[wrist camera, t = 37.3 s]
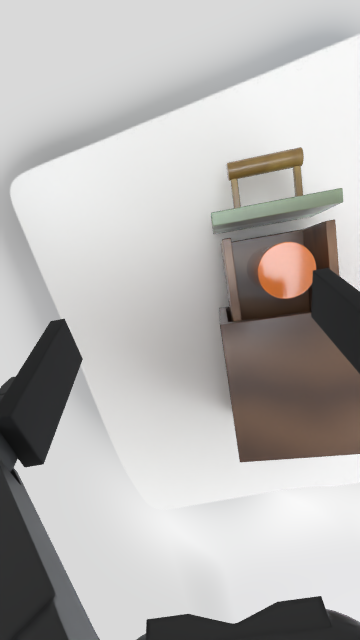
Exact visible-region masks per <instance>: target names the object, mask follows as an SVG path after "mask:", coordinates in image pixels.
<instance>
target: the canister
mask: <svg viewBox="0 0 360 640" xmlns="http://www.w3.org/2000/svg"><path fill="white" fill-rule="evenodd" d="M313 270H316V262H315V259H314V257H313V255H312V253H311V252H310V251H309V250H308V249H307V248H306V247H305V246H303V245H301V244H299V243H296V242H282V243H278V244H274V245H271V246H267V247H264V248H261V249H259V250H257V251H255V252H254V253H253V254H252V255H251V257H250V258H249V260H248V263H247V274H248V277H249V279H250V280H251V282H252V283H253V284H254V285H256V286H257V287H259V288H261V289H262V290H264V291H265V292H267V293H269V294H270V295H272V296H274V297H277V298H281V299H289V298H294V297H297V296H299V295H301V294H302V293H304V292H305V291H306V290H307V289H308V288H309V287H310V286H311V284H312V279H313Z"/></svg>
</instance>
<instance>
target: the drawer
mask: <svg viewBox="0 0 360 640" xmlns="http://www.w3.org/2000/svg"><path fill="white" fill-rule="evenodd" d="M302 164H303V150H302V148H301V147H300V148H295V149H290V150H286V151H281V152H276V153H272V154H267V155H262V156H258V157H253V158H248V159H243V160H239V161H234V162H229V163H227V175H228V180H229V181H230V180H231V187H232V195H233V203H234V209H229V210H224V211H218V212H213V213H211V218H212V226H213V234H218V233H223V232H229V231H234V230H240V229H246V228H251V227H257V226H262V225H268V224H273V223H279V222H284V221H290V220H296V219H301V218H307V217H312V216H314V215H316V214H319V213H321V212H323V211H325V210H327V209H329V208H331V207H334V206H336V205H338V204H340V203H342V202H343V192H342V188H339V189H334V190H329V191H323V192H318V193H313V194H308V195H303V189H302V177H301V166H302ZM289 168H293V176H294V187H295V197H292V198H287V199H281V200H276V201H271V202H266V203H260V204H255V205H250V206H245V207H241V206H240V198H239V190H238V182H237V179H240V178H245V177H249V176H254V175H259V174H264V173H269V172H274V171H279V170H284V169H289ZM282 242H296V243H299V244H301V245H303V246H305V247H306V248H307V249H308V250H309V251H310V252H311V253H312V255H313V257H314V259H315V262H316V270H318V269H324V268H329V269H330V270H332V271H333V272H334V273H336V274H337V275H338V276H339V266H338V253H337V239H336V225H335V220H329V221H325V222H322V223H320V224H317V225H314V226H311V227H308V228H306V229H303V230H297V231H291V232H286V233H280V234H274V235H269V236H263V237H257V238H251V239H246V240H240V241H234V242H231V238H227V239H223V240H222V243H221V248H222V255H223V262H224V270H225V277H226V284H227V292H228V299H229V306H230V313H231V321H232V322H233V321H241V320H248V319H255V318H263V317H270V316H277V315H284V314H292V313H299V312H306V311H311V308H312V284H311V286H310V287H309V288H308V289H307V290H306V291H305V292H304V293H302V294H301V295H299V296H297V297H294V298H289V299H281V298H277V297H274V296H272V295H270V294H269V293H267V292H265V291H264V290H262V289H261V288H259V287H257V286H256V285H254V284H253V283H252V282H251V280H250V279H249V277H248V274H247V263H248V260H249V258H250V257H251V255H252V254H253V253H254V252H255V251H257V250H259V249H261V248H264V247H267V246H271V245H274V244H278V243H282Z"/></svg>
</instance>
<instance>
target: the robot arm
mask: <svg viewBox="0 0 360 640" xmlns="http://www.w3.org/2000/svg"><path fill="white" fill-rule="evenodd" d="M311 317H312V318H313V319H314V321H315V322H316V323H317V324H318V325H319V327H320V328H321V329H322V330H323V331H324V332H325V334H326V335H327V336H328V337H329V338H330V340H331V341H332V342H333V343H334V344H335V345H336V347H337V348H338V349H339V350H340V351H341V353H342V354H343V355H344V356H345V357H346V358H347V360H348V361H349V362H350V363H351V364H352V366H353V367H354V368H355V369H356V370H357V371H358V373H359V374H360V292H359V291H358V290H357V289H355V288H354V287H353V286H351V285H350V284H349V283H347V282H346V281H345V280H344V279H342V278H341V277H340V276H338V275H337V274H336V273H334V272H333V271H332V270H330V269H329V268H324V269H318V270H313V279H312V308H311ZM81 362H82V357H81V354H80V352H79V350H78V348H77V346H76V343H75V341H74V339H73V337H72V334H71V332H70V330H69V328H68V325H67V323H66V321H65V319H60V320H56V321H51V322H50V323H49V325H48V326H47V328H46V330H45V332H44V333H43V335H42V336H41V338H40V339H39V341H38V342H37V344H36V346H35V347H34V349H33V350H32V352H31V353H30V355H29V357H28V358H27V360H26V361H25V363H24V365H23V366H22V368H21V369H20V371H19V373H18V374H17V376H16V377H11V378H10V379H9V380H8V381H7V382H6V383H5V384H3V385H2V386H1V388H0V640H100V639H99V638H98V636H97V634H96V632H95V630H94V628H93V626H92V624H91V622H90V620H89V618H88V616H87V614H86V612H85V610H84V608H83V606H82V604H81V602H80V600H79V598H78V596H77V594H76V591H75V589H74V587H73V585H72V583H71V581H70V579H69V577H68V575H67V573H66V571H65V569H64V567H63V565H62V563H61V561H60V559H59V557H58V555H57V553H56V551H55V548H54V546H53V545H52V542H51V540H50V538H49V537H48V535H47V532H46V530H45V528H44V526H43V524H42V522H41V520H40V518H39V516H38V514H37V512H36V510H35V508H34V505H33V503H32V502H31V499H30V498H29V495H28V493H27V491H26V489H25V487H24V485H23V483H22V481H21V479H20V477H19V475H18V473H17V471H16V470H15V469H14V465H15V463H16V461H17V459H19V460H20V461H21V463H22V464H23V466H24V467H30V466H36V465H42V464H44V461H45V459H46V456H47V453H48V451H49V448H50V445H51V443H52V440H53V437H54V435H55V432H56V429H57V426H58V424H59V421H60V418H61V416H62V413H63V410H64V408H65V405H66V402H67V400H68V397H69V394H70V392H71V389H72V386H73V384H74V381H75V378H76V375H77V373H78V370H79V367H80V365H81ZM137 640H360V622H358V621H356V620H354V619H352V618H350V617H349V616H347V615H344V614H341V613H338V612H336V611H332V610H328V609H325V606H324V603H323V600H322V597H321V596H318V597H311V598H304V599H296V600H288V601H281V602H277V603H274V604H273V605H271V606H269V607H267V608H265V609H263V610H261V611H259V612H257V613H256V614H254V615H252V616H250V617H248V618H246V619H244V620H242V621H241V622H239V623H235V624H231V623H226V622H222V621H217V620H212V619H208V618H204V617H200V616H195V615H191V614H184V615H177V616H170V617H162V618H155V619H148V620H147V627H146V634H144V635H142V636H141V637H139V638H138V639H137Z"/></svg>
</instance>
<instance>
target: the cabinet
mask: <svg viewBox="0 0 360 640" xmlns="http://www.w3.org/2000/svg"><path fill="white" fill-rule="evenodd" d="M219 312H220V327H221V334H222V341H223V348H224V355H225V362H226V369H227V376H228V383H229V390H230V397H231V404H232V411H233V418H234V424H235V431H236V438H237V445H238V452H239V459H240V462H251V461H265V460H279V459H294V458H308V457H322V456H336V455H351V454H360V374H359V373H358V371H357V370H356V369H355V368H354V367H353V366H352V364H351V363H350V362H349V361H348V360H347V358H346V357H345V356H344V355H343V354H342V353H341V351H340V350H339V349H338V348H337V347H336V345H335V344H334V343H333V342H332V341H331V340H330V338H329V337H328V336H327V335H326V334H325V332H324V331H323V330H322V329H321V328H320V327H319V325H318V324H317V323H316V322H315V321H314V319H313V318H312V317H311V311H306V312H299V313H292V314H284V315H277V316H270V317H263V318H255V319H248V320H241V321H233V322H232V321H231V313H230V307H223V308H219Z"/></svg>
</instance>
